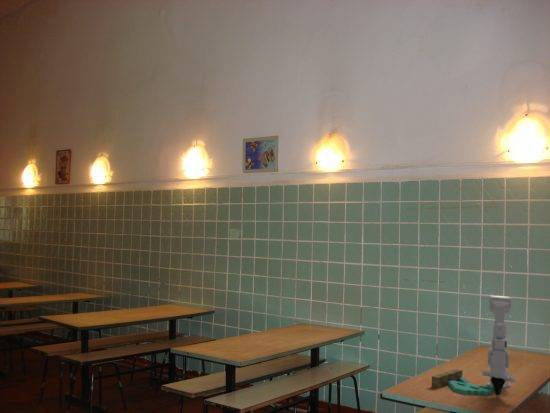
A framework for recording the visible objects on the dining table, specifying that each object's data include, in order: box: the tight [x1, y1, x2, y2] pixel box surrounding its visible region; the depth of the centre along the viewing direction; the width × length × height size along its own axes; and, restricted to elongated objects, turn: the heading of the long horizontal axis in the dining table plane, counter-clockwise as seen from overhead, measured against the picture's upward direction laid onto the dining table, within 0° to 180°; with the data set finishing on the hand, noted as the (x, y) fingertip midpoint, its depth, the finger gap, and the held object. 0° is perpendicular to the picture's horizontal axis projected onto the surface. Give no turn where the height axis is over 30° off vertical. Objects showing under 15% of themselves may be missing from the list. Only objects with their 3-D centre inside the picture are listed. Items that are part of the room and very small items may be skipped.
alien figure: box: [446, 376, 495, 397], centre depth 265 cm, size 20×2×20 cm
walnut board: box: [431, 368, 463, 389], centre depth 272 cm, size 24×3×5 cm, turn 133°
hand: (497, 394), depth 254 cm, fingers closed
